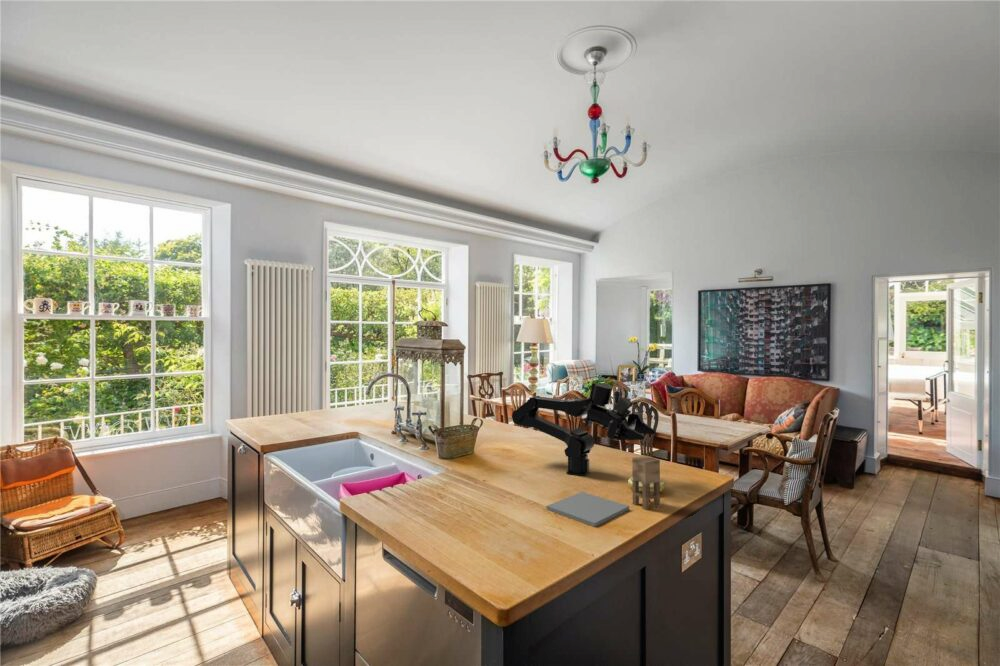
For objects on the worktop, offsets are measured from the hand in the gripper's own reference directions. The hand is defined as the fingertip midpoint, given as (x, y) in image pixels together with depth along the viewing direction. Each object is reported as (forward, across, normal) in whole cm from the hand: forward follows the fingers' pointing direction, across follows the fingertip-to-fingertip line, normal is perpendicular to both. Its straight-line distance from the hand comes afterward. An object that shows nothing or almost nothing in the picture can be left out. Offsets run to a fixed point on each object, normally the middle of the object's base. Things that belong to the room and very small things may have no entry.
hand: (649, 435), depth 144 cm
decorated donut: (+4, -2, +16) cm, 17 cm away
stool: (+8, -15, +15) cm, 22 cm away
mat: (-3, -28, +18) cm, 33 cm away
